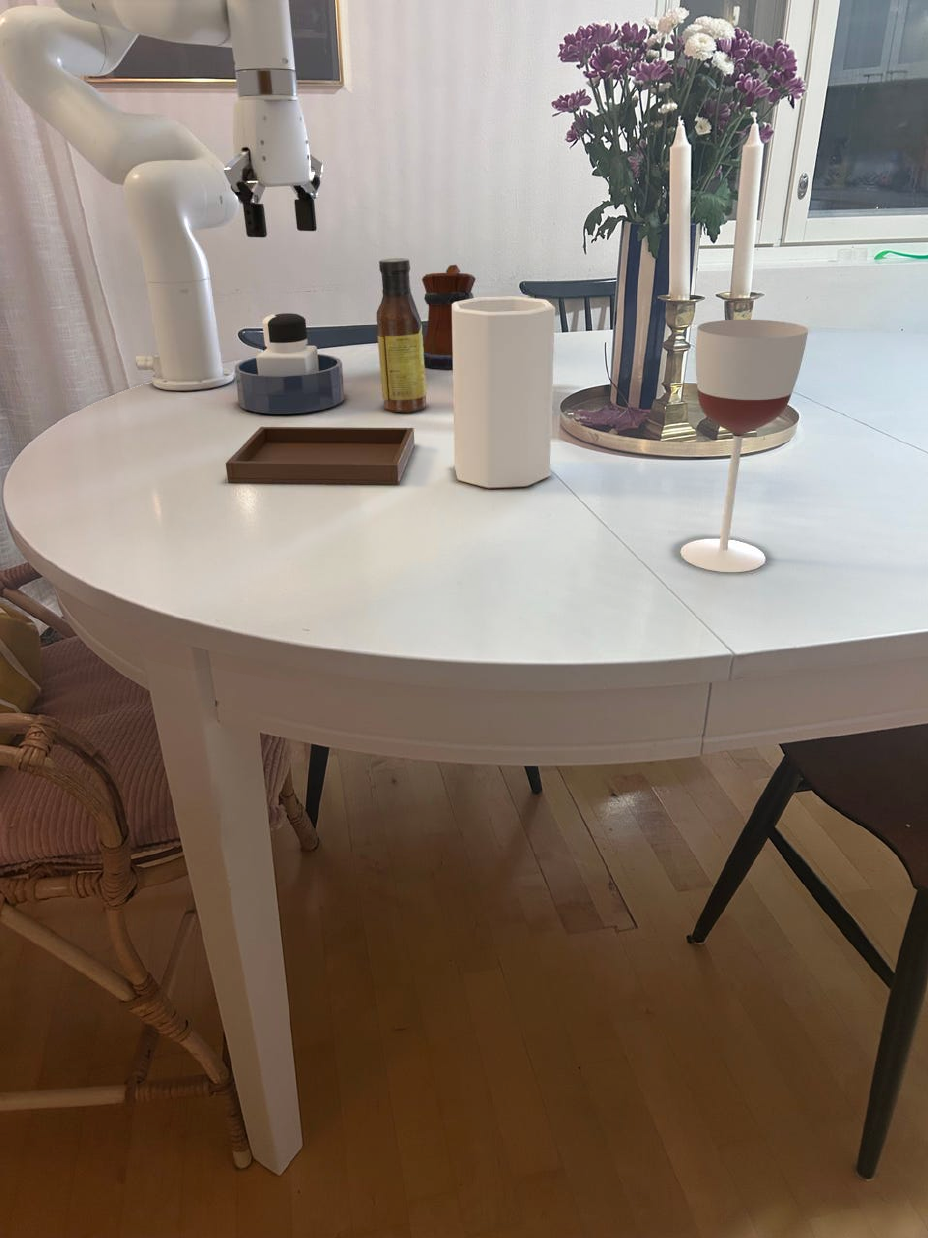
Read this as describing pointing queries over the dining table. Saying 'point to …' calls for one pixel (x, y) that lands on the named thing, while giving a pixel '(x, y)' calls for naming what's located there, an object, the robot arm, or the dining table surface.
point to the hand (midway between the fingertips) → (282, 233)
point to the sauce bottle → (400, 340)
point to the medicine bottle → (286, 347)
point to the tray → (322, 456)
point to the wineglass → (742, 408)
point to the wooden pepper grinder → (443, 313)
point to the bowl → (290, 388)
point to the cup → (502, 390)
